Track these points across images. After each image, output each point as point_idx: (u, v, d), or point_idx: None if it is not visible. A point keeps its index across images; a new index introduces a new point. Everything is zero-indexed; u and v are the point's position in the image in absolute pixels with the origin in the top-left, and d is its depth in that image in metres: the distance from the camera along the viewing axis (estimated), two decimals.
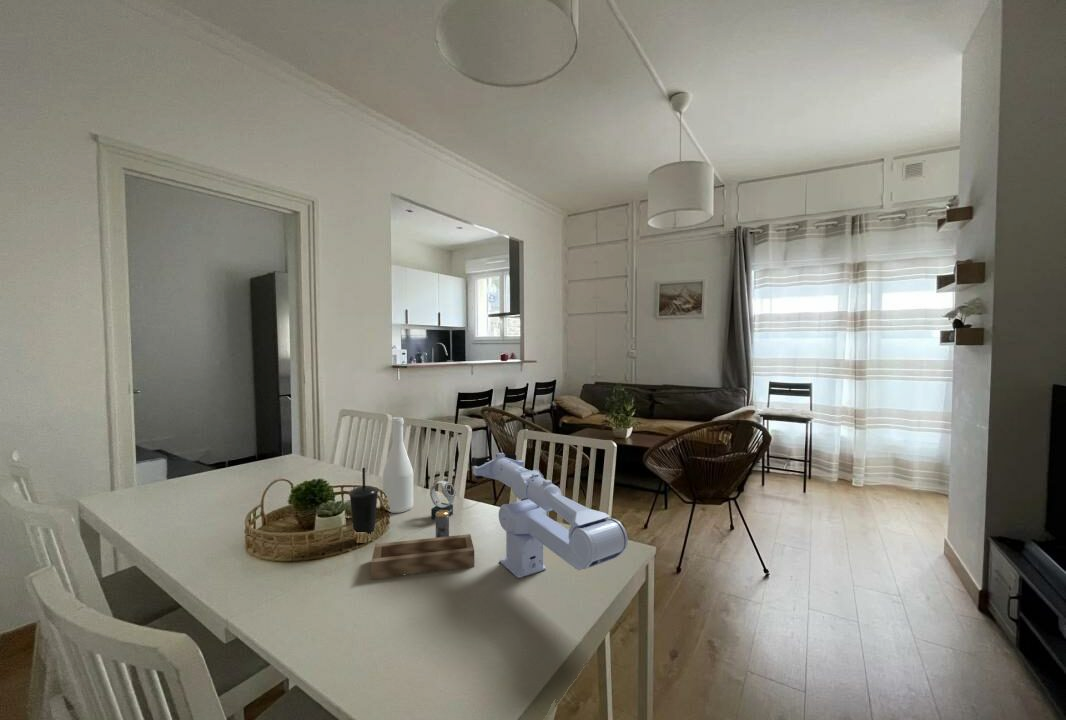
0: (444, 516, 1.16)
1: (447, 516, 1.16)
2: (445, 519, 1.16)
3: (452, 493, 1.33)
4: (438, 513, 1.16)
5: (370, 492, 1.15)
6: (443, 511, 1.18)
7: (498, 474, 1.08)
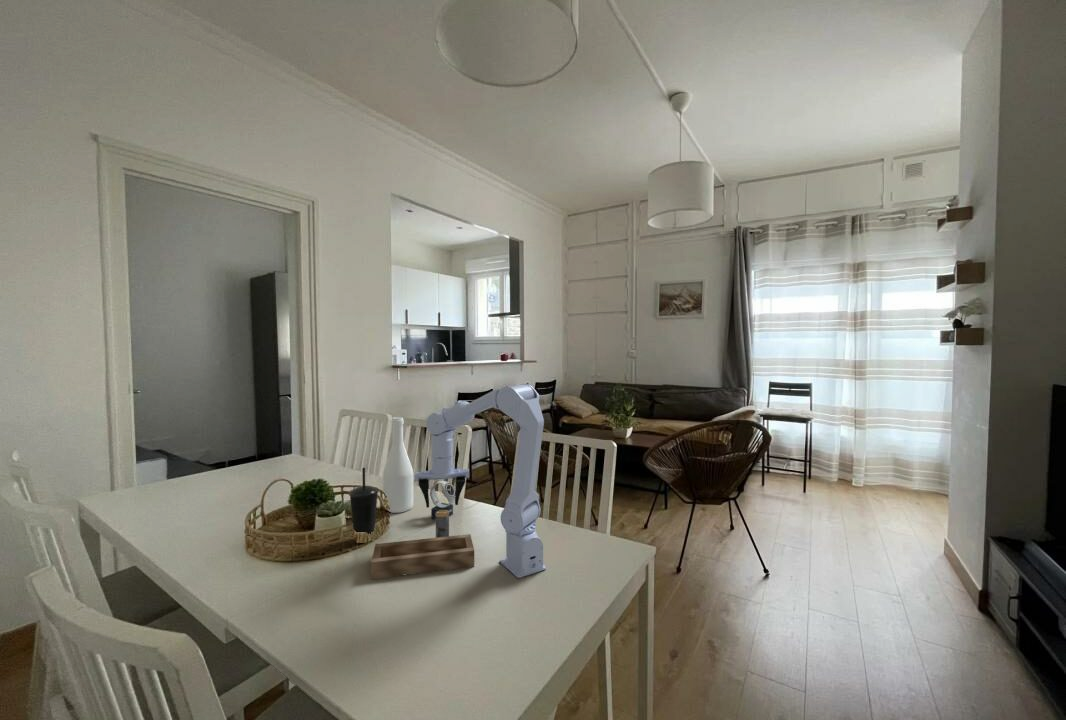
0: (444, 516, 1.16)
1: (447, 516, 1.16)
2: (445, 519, 1.16)
3: (452, 493, 1.33)
4: (438, 513, 1.16)
5: (370, 492, 1.15)
6: (443, 511, 1.17)
7: (431, 458, 1.16)
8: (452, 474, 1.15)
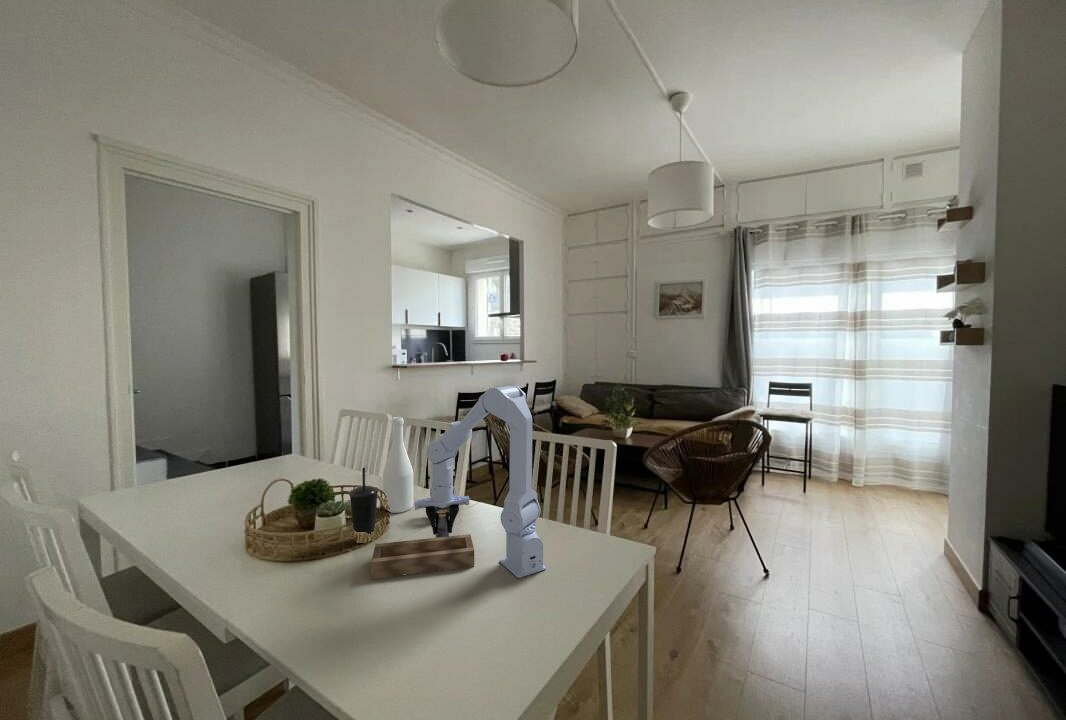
0: (444, 516, 1.16)
1: (447, 516, 1.16)
2: (445, 519, 1.16)
3: None
4: (438, 513, 1.16)
5: (370, 492, 1.15)
6: (443, 511, 1.18)
7: None
8: (452, 502, 1.15)
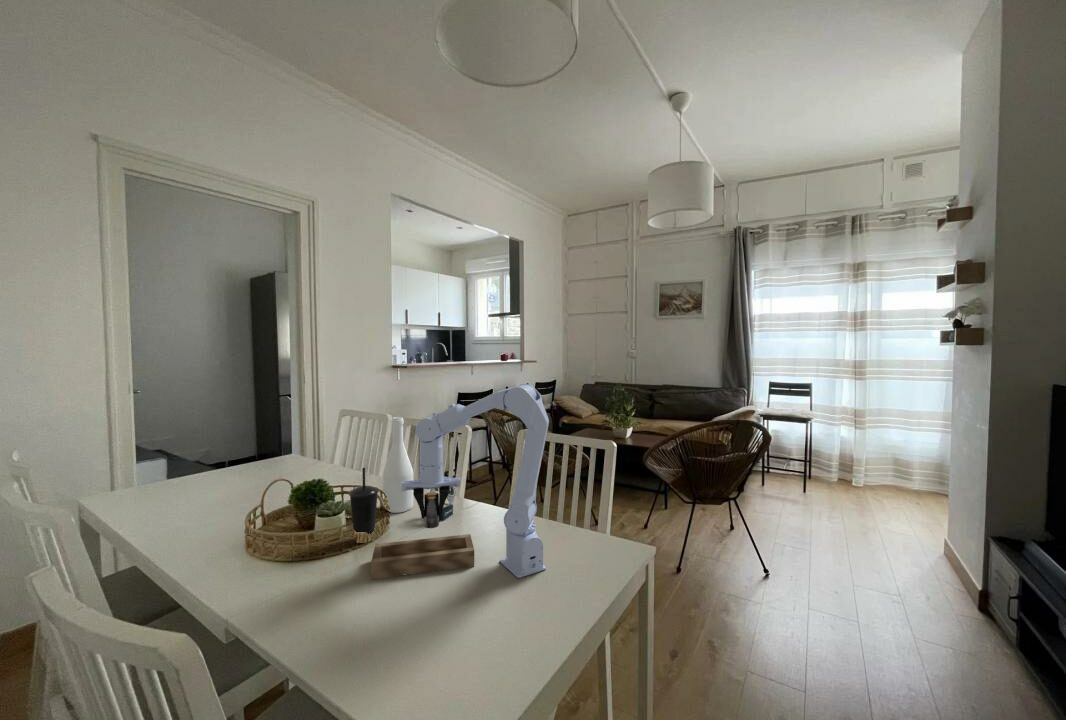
0: (433, 498, 1.08)
1: (436, 498, 1.09)
2: (435, 502, 1.08)
3: (452, 493, 1.33)
4: (427, 495, 1.09)
5: (370, 492, 1.15)
6: (433, 493, 1.10)
7: None
8: (442, 483, 1.08)
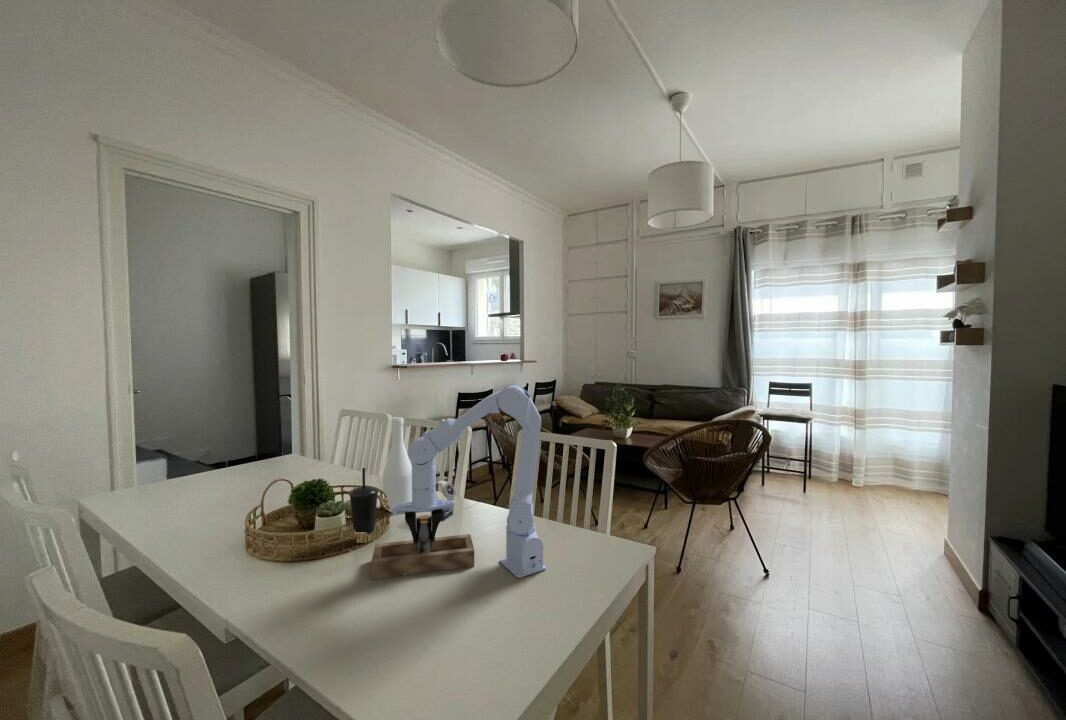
0: (425, 523, 1.04)
1: (429, 523, 1.04)
2: (427, 526, 1.04)
3: (452, 493, 1.33)
4: (419, 519, 1.04)
5: (370, 492, 1.15)
6: (425, 517, 1.06)
7: None
8: (435, 507, 1.03)
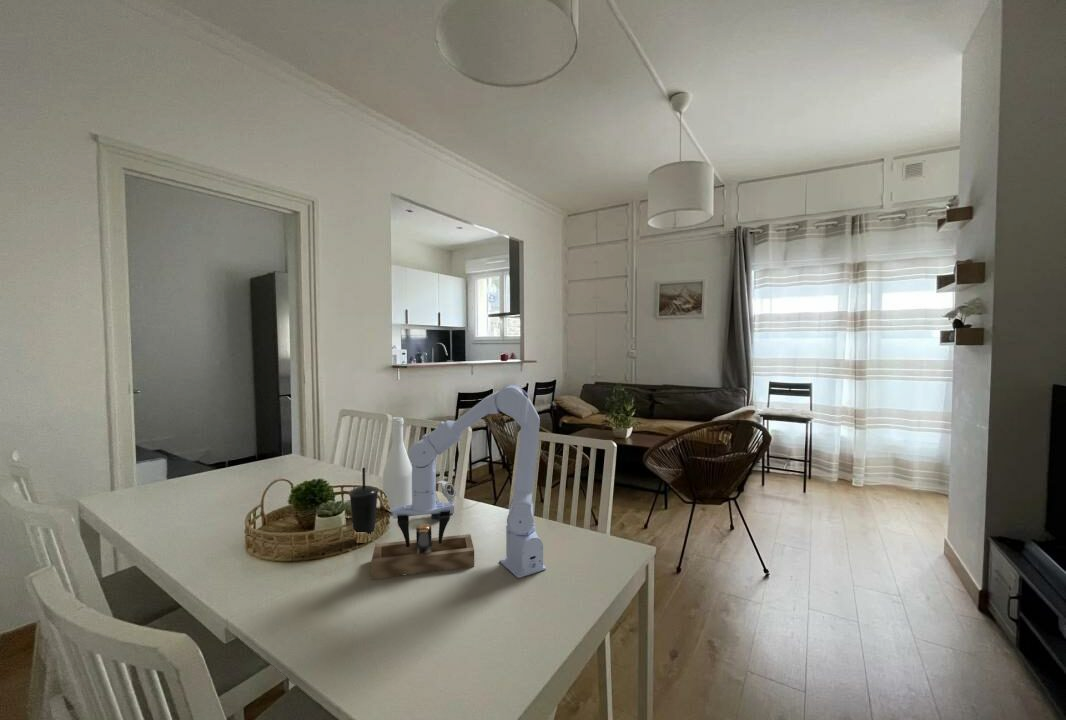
0: (425, 532, 1.04)
1: (429, 531, 1.04)
2: (427, 535, 1.04)
3: (452, 493, 1.33)
4: (419, 528, 1.04)
5: (370, 492, 1.15)
6: (425, 526, 1.06)
7: None
8: (435, 510, 1.03)
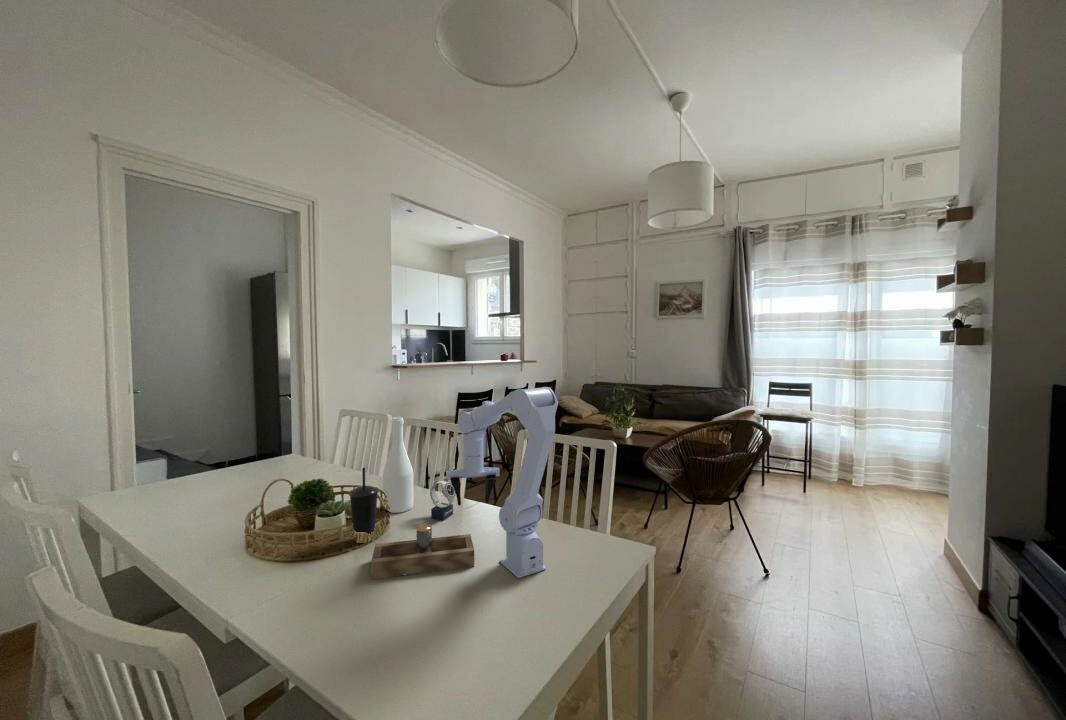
0: (425, 531, 1.04)
1: (429, 531, 1.04)
2: (427, 535, 1.04)
3: (452, 493, 1.33)
4: (419, 528, 1.04)
5: (370, 492, 1.15)
6: (425, 525, 1.06)
7: None
8: (483, 472, 1.17)
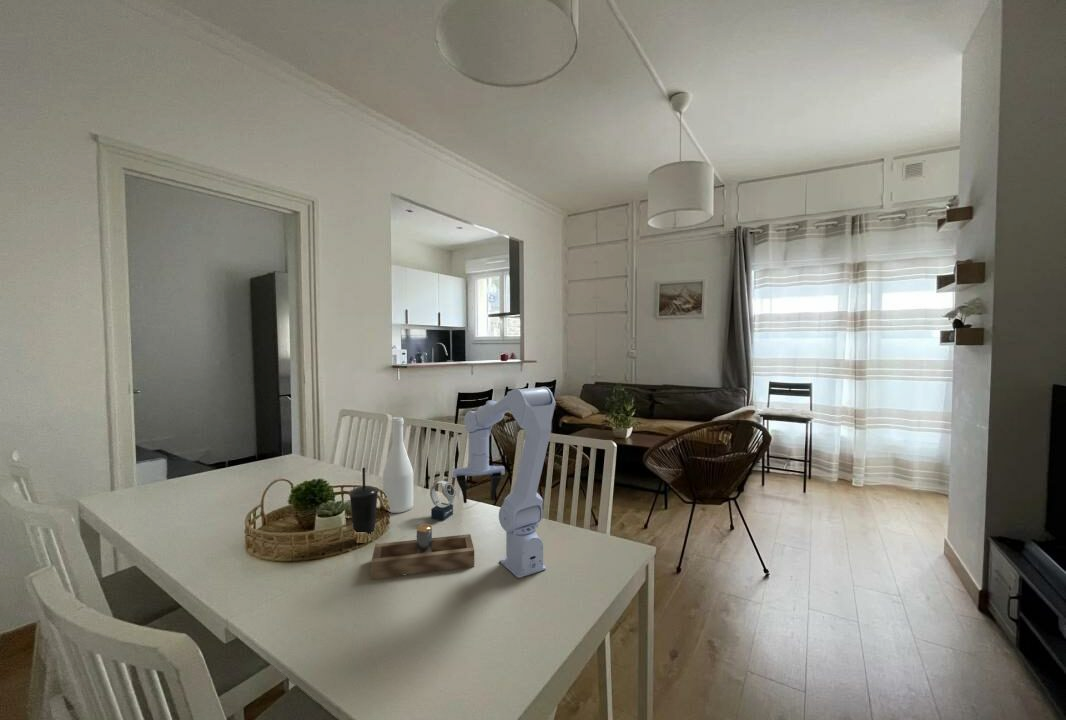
0: (425, 531, 1.04)
1: (429, 531, 1.04)
2: (427, 535, 1.04)
3: (452, 493, 1.33)
4: (419, 528, 1.04)
5: (370, 492, 1.15)
6: (425, 525, 1.06)
7: None
8: (489, 471, 1.19)
